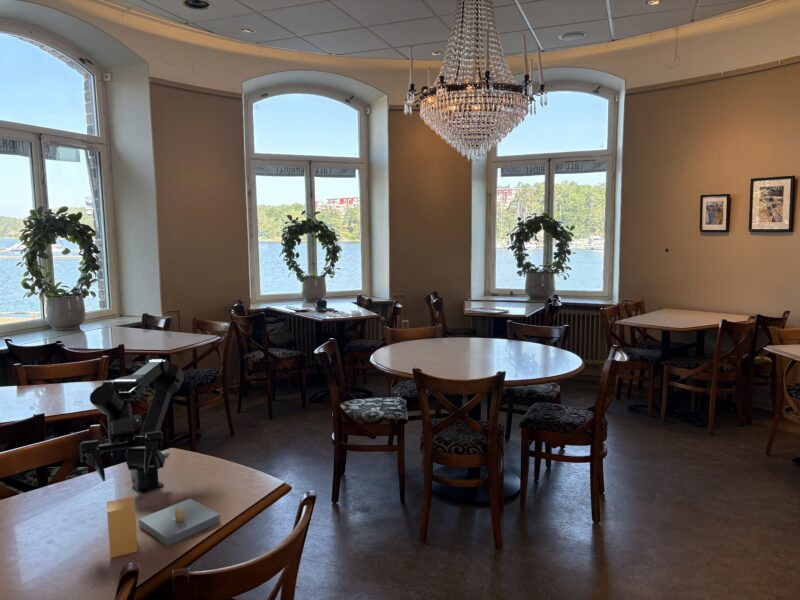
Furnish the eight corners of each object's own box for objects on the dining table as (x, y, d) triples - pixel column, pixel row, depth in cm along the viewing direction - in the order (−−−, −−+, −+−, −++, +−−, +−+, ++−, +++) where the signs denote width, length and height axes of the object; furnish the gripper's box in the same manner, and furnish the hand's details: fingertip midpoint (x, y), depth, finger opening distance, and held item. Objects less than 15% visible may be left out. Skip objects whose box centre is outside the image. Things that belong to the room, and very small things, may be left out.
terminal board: (139, 526, 138) (138, 507, 138) (190, 505, 149) (189, 487, 149) (167, 545, 130) (166, 526, 129) (219, 522, 140) (218, 503, 140)
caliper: (134, 480, 165) (133, 460, 164) (131, 480, 165) (129, 460, 165) (169, 454, 185) (168, 436, 185) (166, 454, 185) (165, 436, 185)
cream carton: (110, 546, 130) (106, 501, 128) (136, 539, 132) (133, 496, 131) (110, 558, 125) (107, 512, 124) (137, 551, 128) (134, 506, 126)
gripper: (78, 409, 133) (81, 468, 124) (161, 400, 143) (169, 453, 134) (79, 433, 140) (81, 490, 132) (157, 422, 150) (165, 475, 141)
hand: (125, 476), depth 134 cm, fingers open, 9 cm apart
